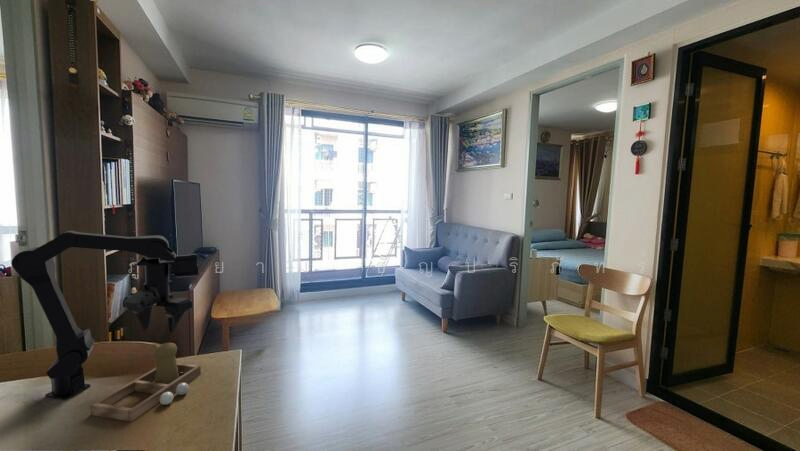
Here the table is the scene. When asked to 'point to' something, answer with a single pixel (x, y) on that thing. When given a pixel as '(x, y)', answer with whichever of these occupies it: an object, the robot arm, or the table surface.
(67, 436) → the table surface
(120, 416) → the caddy
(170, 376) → the olive tapered figurine
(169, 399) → the pebble
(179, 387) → the pebble
